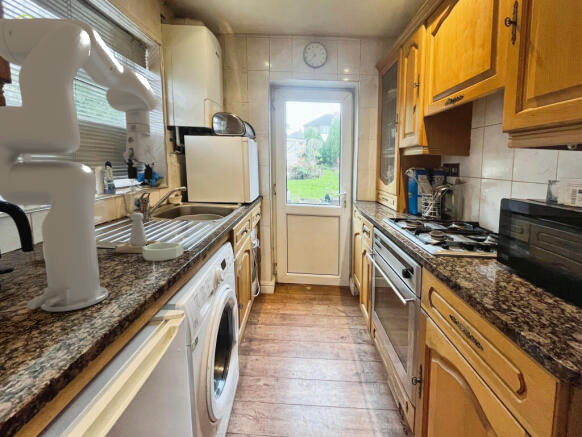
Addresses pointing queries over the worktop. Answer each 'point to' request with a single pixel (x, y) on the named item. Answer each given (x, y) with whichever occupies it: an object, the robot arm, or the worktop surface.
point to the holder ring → (162, 251)
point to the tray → (129, 249)
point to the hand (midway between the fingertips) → (141, 179)
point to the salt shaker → (137, 231)
